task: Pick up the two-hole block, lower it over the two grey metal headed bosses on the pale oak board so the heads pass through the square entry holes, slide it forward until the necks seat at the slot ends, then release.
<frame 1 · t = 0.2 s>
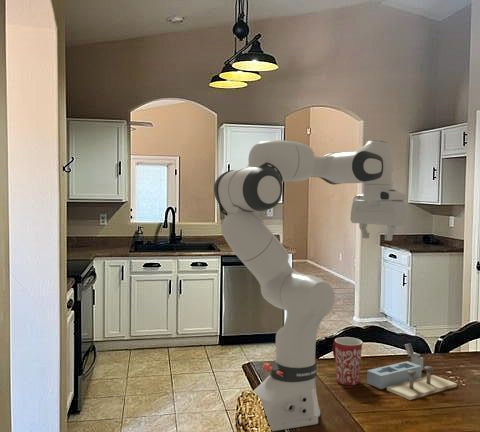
hand: (376, 239, 156), 47 cm above the table, fingers open, 8 cm apart
boss board: (422, 388, 161), on the table
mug: (344, 380, 168), on the table
two-hole block: (394, 380, 167), on the table
lighter: (413, 368, 181), on the table
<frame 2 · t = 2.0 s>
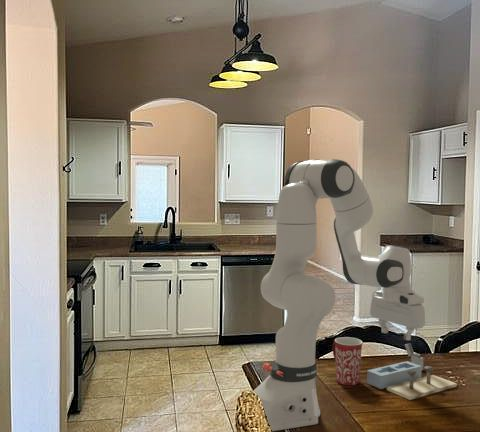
hand: (395, 336, 166), 15 cm above the table, fingers open, 8 cm apart
nothing on the table moved.
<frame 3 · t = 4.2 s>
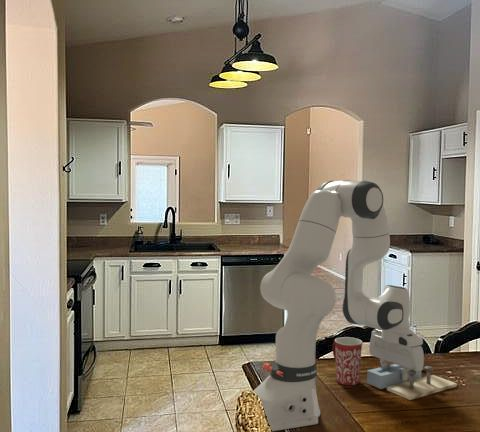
hand: (394, 376, 167), 2 cm above the table, fingers closed on two-hole block, 6 cm apart
two-hole block: (394, 380, 167), on the table, touching gripper
everything else where it was.
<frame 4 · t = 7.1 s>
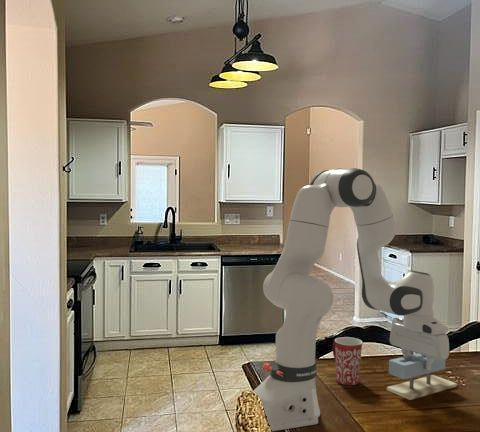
hand: (417, 366, 159), 8 cm above the table, fingers closed on two-hole block, 6 cm apart
two-hole block: (417, 371, 159), point 6 cm above the table, touching gripper
everything else where it was.
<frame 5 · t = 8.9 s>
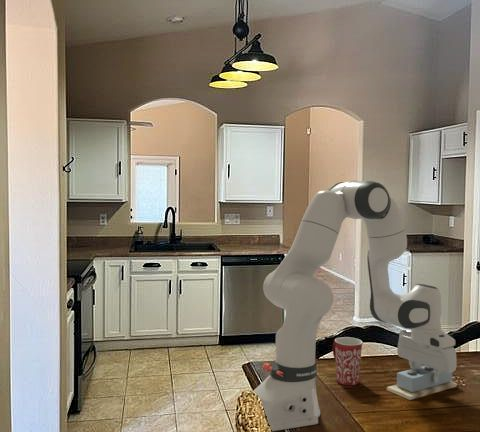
hand: (424, 378, 161), 3 cm above the table, fingers closed on two-hole block, 6 cm apart
two-hole block: (424, 383, 161), point 1 cm above the table, touching gripper
everything else where it was.
when the fingers open (3 cm above the table, at t = 10.2 s): two-hole block stays where it is, resting on boss board.
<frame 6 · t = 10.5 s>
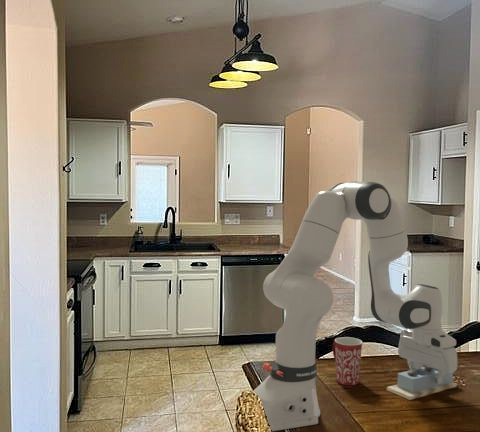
hand: (425, 378, 161), 3 cm above the table, fingers open, 8 cm apart
two-hole block: (425, 384, 161), point 1 cm above the table, touching boss board
everything else where it was.
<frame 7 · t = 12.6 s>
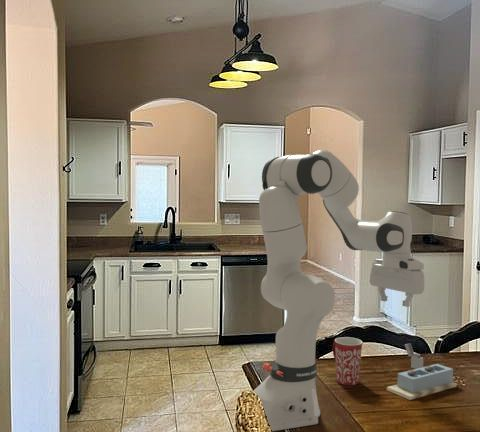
hand: (394, 303, 165), 26 cm above the table, fingers open, 8 cm apart
nothing on the table moved.
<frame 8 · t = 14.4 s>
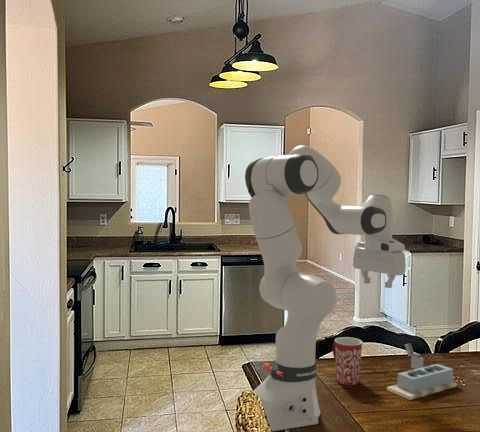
hand: (377, 285, 168), 31 cm above the table, fingers open, 8 cm apart
nothing on the table moved.
at the end: two-hole block 0.4 cm from the target spot on the boss board, point 1.0 cm above the boss board's base; two-hole block tilted 0°; the gripper is holding nothing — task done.
